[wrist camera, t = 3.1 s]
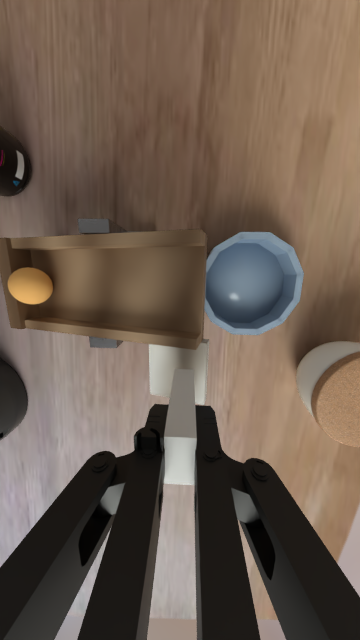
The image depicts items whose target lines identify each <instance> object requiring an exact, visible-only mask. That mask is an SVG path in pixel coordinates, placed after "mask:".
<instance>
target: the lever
mask: <svg viewBox="0 0 360 640" xmlns="http://www.w3.org/2000/svg"><path fill="white" fill-rule="evenodd" d="M207 239H208V236H207V235H206V234H205V233H204V232H203V231H202V230H201V229H189V230H169V231H149V232H129V233H109V234H88V235H68V236H48V237H28V238H0V273H1V279H2V284H3V289H4V294H5V300H6V305H7V310H8V315H9V320H10V326H11V328H17V329H24V328H29V329H37V330H45V331H52V332H60V333H68V334H76V335H83V336H91V337H99V338H107V339H114V340H122V341H130V342H138V343H145V344H149V367H150V394H153V395H158V396H163V397H168V398H170V394H171V388H172V381H173V375H174V369H192V370H194V388H195V403H197V404H201V405H204V404H205V400H206V391H207V371H208V352H209V339H203V331H204V308H205V285H206V262H207ZM26 267H30V268H36V269H39V270H41V271H43V272H44V273H46V274H47V275H48V276H49V278H50V279H51V281H52V284H53V292H52V294H51V296H50V297H49V298H48V299H47V300H46V301H44V302H42V303H39V304H26V303H23V302H20V301H18V300H17V299H15V298H14V297H13V296H12V294H11V293H10V291H9V289H8V279H9V277H10V275H11V274H12V273H13V272H14V271H16V270H18V269H21V268H26Z"/></svg>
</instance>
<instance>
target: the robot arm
mask: <svg viewBox="0 0 360 640" xmlns="http://www.w3.org/2000/svg"><path fill="white" fill-rule="evenodd" d="M26 410H27V395H26V391H25V388H24V386H23V383H22V381H21V380H20V378H19V377H18V375H17V374H16V372H15V371H14V370H13V369H12V368H11V367H10V366H9V365H8V364H7V363H6V362H5V361H3V360H2V359H0V440H2V439H3V438H4V437H6V436H7V435H8V434H9V433H10V432H11V431H13V430H14V429H15V428H16V427H17V426H18V425H19V424H20V423H21V422H22V420H23V418H24V416H25V414H26ZM134 448H135V451H133V452H132V453H130V454H128V455H125V456H121V457H117V458H116V457H115V455H114V454H113V453H111V452H109V451H102V452H98V453H96V454H95V455H93V456H92V457H91V458H89V459H88V460H87V462H86V463H85V464H84V465H83V467H82V468H81V469H80V470H79V471H78V473H77V474H76V475H75V476H74V478H73V479H72V480H71V481H70V483H69V484H68V485H67V486H66V487H65V489H64V490H63V491H62V492H61V494H60V495H59V496H58V497H57V499H56V500H55V501H54V502H53V503H52V505H51V506H50V507H49V508H48V510H47V511H46V512H45V513H44V515H43V516H42V517H41V518H40V519H39V521H38V522H37V523H36V524H35V526H34V527H33V528H32V529H31V531H30V532H29V533H28V534H27V535H26V537H25V538H24V539H23V540H22V542H21V543H20V544H19V545H18V547H17V548H16V549H15V550H14V551H13V553H12V554H11V555H10V556H9V558H8V559H7V560H6V561H5V563H4V564H3V565H2V566H1V567H0V640H54V639H55V637H56V635H57V633H58V631H59V629H60V627H61V625H62V623H63V621H64V619H65V617H66V615H67V613H68V611H69V609H70V607H71V605H72V603H73V601H74V599H75V597H76V595H77V593H78V592H79V590H80V588H81V586H82V584H83V582H84V580H85V578H86V576H87V574H88V572H89V570H90V568H91V566H92V564H93V562H94V560H95V558H96V556H97V554H98V552H99V550H100V548H101V546H102V544H103V542H104V540H105V538H106V536H107V534H108V532H109V530H110V528H111V531H110V534H109V537H108V540H107V544H106V547H105V550H104V554H103V557H102V560H101V564H100V567H99V570H98V573H97V577H96V580H95V583H94V587H93V590H92V593H91V596H90V600H89V603H88V606H87V610H86V613H85V616H84V619H83V623H82V626H81V629H80V633H79V636H78V640H147V632H148V624H149V615H150V607H151V598H152V589H153V581H154V572H155V563H156V554H157V546H158V537H159V528H160V520H161V511H162V502H163V485H164V483H167V484H184V485H195V494H194V511H195V557H196V609H197V640H260V635H259V630H258V624H257V619H256V614H255V609H254V604H253V598H252V593H251V588H250V583H249V577H248V572H247V567H246V562H245V557H244V551H243V546H242V541H241V536H240V531H239V525H238V520H239V521H240V524H241V527H242V529H243V532H244V534H245V537H246V539H247V542H248V544H249V547H250V549H251V552H252V554H253V557H254V559H255V562H256V564H257V567H258V570H259V572H260V575H261V577H262V580H263V582H264V585H265V587H266V590H267V592H268V595H269V597H270V600H271V602H272V605H273V607H274V610H275V612H276V615H277V617H278V620H279V622H280V625H281V627H282V630H283V632H284V635H285V638H286V640H360V597H359V595H358V594H357V592H356V591H355V589H354V588H353V586H352V585H351V584H350V582H349V581H348V579H347V578H346V576H345V575H344V573H343V572H342V570H341V569H340V567H339V566H338V564H337V563H336V561H335V560H334V558H333V557H332V555H331V554H330V552H329V551H328V549H327V548H326V546H325V545H324V543H323V542H322V540H321V539H320V538H319V536H318V535H317V533H316V532H315V530H314V529H313V527H312V526H311V524H310V523H309V521H308V520H307V518H306V517H305V515H304V514H303V512H302V511H301V509H300V508H299V506H298V505H297V503H296V502H295V500H294V499H293V497H292V496H291V494H290V493H289V492H288V490H287V489H286V487H285V486H284V484H283V483H282V481H281V480H280V478H279V477H278V475H277V474H276V472H275V471H274V469H273V468H272V467H271V466H270V465H269V464H268V463H266V462H265V461H263V460H260V459H257V458H251V459H248V460H246V462H245V463H241V462H238V461H235V460H233V459H231V458H230V457H228V456H227V455H226V454H225V453H224V451H223V450H222V448H221V444H220V438H219V433H218V427H217V422H216V416H215V412H214V410H213V409H212V408H211V406H199V405H195V388H194V370H192V369H174V375H173V381H172V388H171V394H170V400H169V405H163V404H154V406H153V407H152V408H151V409H150V411H149V415H148V418H147V422H146V425H145V427H144V428H141V429H140V430H138V431H137V432H136V434H135V435H134ZM237 519H238V520H237ZM111 526H112V527H111Z"/></svg>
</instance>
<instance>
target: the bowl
mask: <svg viewBox="0 0 360 640" xmlns="http://www.w3.org/2000/svg"><path fill="white" fill-rule="evenodd" d="M303 276H304V272H303V270H302V267H301V265H300V263H299V260H298V258H297V255H296V253H295V251H294V248H293V247H292V246H290V245H289V244H287V243H286V242H284V241H283V240H281V239H280V238H278V237H277V236H275V235H274V234H272V233H270V232H240V233H238V234H236V235H234V236H233V237H231V238H229V239H228V240H226V241H224V242H222V243H221V244H219V245H217V246H215V247H214V248H213V249H212V250H211V252H210V253H209V255H208V257H207V262H206V285H205V308H204V309H205V311H206V313H207V315H208V317H209V319H210V320H211V322H213V323H215V324H216V325H218V326H220V327H221V328H223V329H225V330H226V331H228V332H230V333H231V334H240V335H259V334H261V333H264V332H266V331H268V330H270V329H272V328H274V327H276V326H278V325H280V324H282V323H283V322H284V321H285V319H286V318H287V317H288V316H289V314H290V313H291V312H292V310H293V309H294V308H295V306H296V305H297V304H298V302H299V301H300V295H301V289H302V282H303Z"/></svg>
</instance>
